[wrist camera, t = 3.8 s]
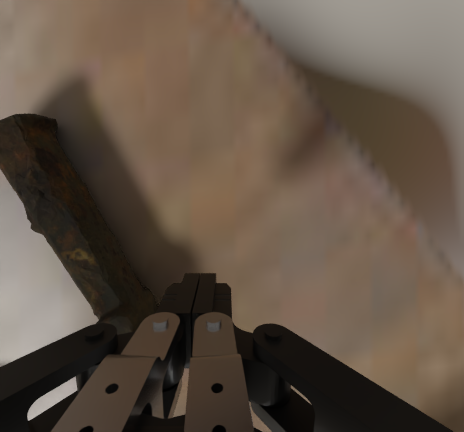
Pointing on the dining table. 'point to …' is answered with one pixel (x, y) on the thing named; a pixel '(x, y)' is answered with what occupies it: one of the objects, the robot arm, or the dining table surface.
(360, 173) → the dining table surface
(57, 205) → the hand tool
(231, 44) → the dining table surface
